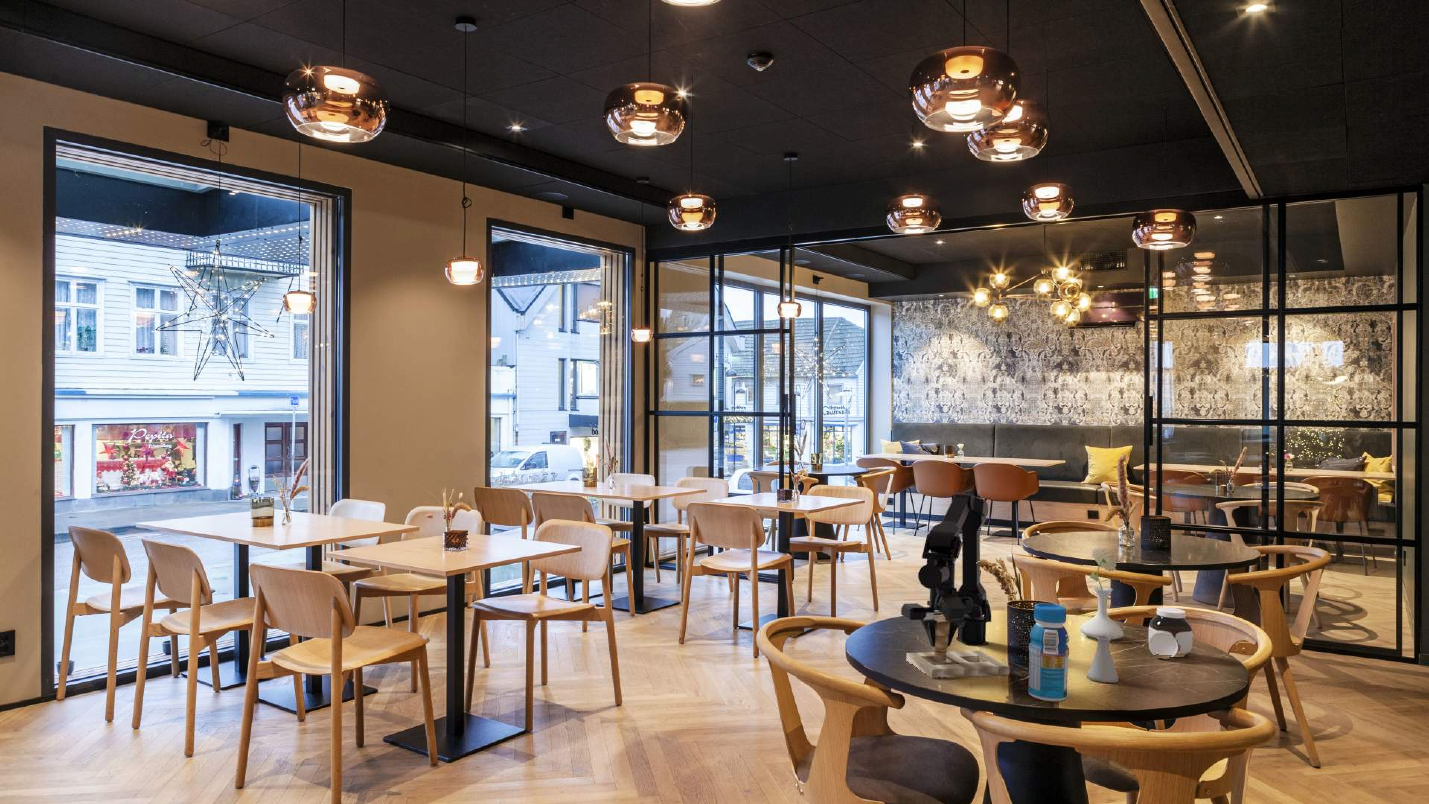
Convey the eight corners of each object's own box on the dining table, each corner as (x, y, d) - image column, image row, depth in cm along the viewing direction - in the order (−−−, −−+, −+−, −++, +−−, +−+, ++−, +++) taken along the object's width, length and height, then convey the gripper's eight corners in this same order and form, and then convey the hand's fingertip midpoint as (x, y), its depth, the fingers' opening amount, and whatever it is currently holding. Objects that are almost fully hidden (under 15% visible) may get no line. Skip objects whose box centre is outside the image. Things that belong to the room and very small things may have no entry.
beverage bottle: (1019, 694, 207) (1022, 604, 207) (1042, 688, 212) (1045, 600, 212) (1052, 705, 200) (1055, 612, 200) (1075, 698, 205) (1078, 608, 205)
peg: (943, 656, 228) (944, 619, 228) (951, 660, 224) (952, 623, 224) (928, 656, 227) (929, 619, 227) (936, 661, 223) (937, 623, 223)
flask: (1122, 685, 216) (1123, 642, 216) (1089, 682, 218) (1090, 639, 218) (1115, 676, 223) (1116, 634, 223) (1083, 673, 225) (1084, 632, 225)
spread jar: (1183, 651, 248) (1185, 607, 248) (1201, 663, 237) (1203, 617, 237) (1137, 649, 249) (1138, 605, 249) (1152, 660, 238) (1154, 615, 238)
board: (979, 658, 235) (979, 649, 235) (1009, 674, 222) (1009, 665, 222) (906, 661, 231) (906, 652, 231) (931, 678, 217) (932, 668, 217)
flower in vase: (1130, 643, 255) (1133, 552, 254) (1089, 642, 255) (1091, 551, 255) (1111, 631, 268) (1113, 544, 267) (1071, 630, 268) (1074, 543, 268)
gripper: (921, 589, 215) (919, 657, 215) (994, 588, 219) (992, 654, 219) (901, 580, 226) (899, 644, 226) (971, 578, 230) (969, 641, 230)
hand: (940, 646), depth 225 cm, fingers closed on peg, 4 cm apart
